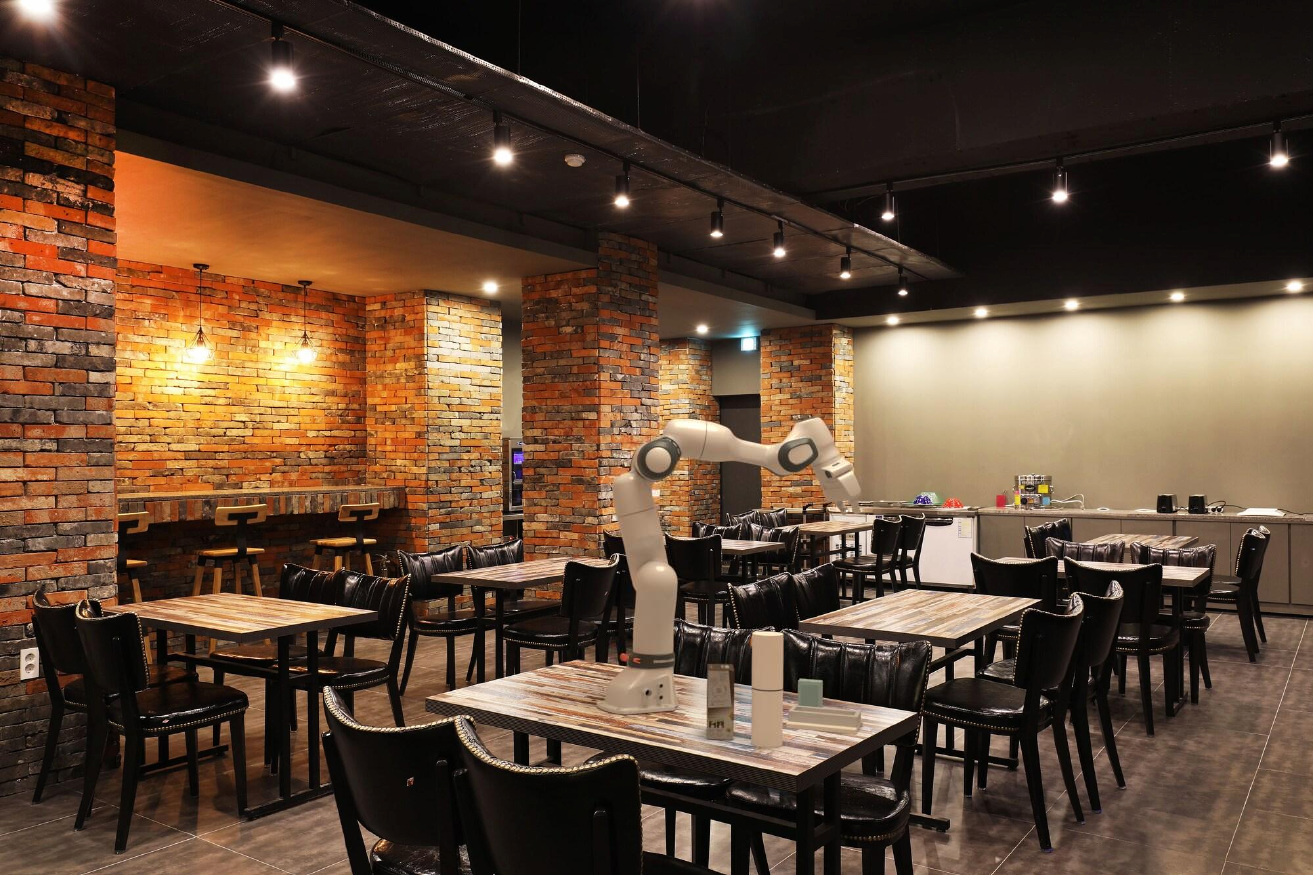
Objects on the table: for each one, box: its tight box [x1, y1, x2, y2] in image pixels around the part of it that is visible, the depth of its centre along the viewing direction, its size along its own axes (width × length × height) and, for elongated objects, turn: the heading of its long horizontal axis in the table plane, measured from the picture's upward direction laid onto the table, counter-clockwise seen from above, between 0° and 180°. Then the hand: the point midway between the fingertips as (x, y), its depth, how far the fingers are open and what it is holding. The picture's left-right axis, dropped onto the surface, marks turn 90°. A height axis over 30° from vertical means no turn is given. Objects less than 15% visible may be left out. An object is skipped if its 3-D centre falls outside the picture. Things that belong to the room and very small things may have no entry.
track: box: [785, 704, 863, 735], centre depth 236 cm, size 13×17×4 cm
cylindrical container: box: [750, 631, 784, 749], centre depth 218 cm, size 7×7×25 cm
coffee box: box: [706, 663, 735, 741], centre depth 225 cm, size 9×6×16 cm
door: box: [797, 678, 824, 708], centre depth 250 cm, size 3×6×8 cm, turn 71°
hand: (851, 513), depth 267 cm, fingers open, 8 cm apart
